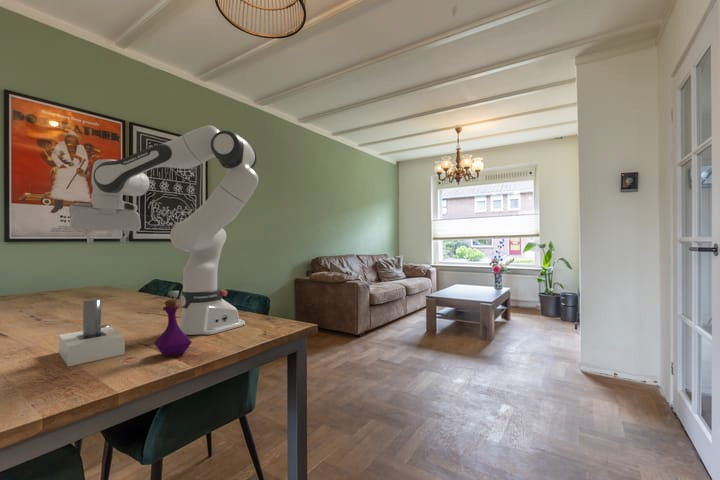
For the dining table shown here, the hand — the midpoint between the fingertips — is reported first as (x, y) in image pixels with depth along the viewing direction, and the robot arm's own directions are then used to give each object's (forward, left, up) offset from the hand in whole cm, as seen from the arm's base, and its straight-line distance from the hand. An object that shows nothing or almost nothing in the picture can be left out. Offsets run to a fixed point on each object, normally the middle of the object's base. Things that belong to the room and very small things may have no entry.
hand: (107, 243), depth 118 cm
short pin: (+4, +15, -31) cm, 35 cm away
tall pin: (+9, +28, -31) cm, 43 cm away
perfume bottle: (-6, +46, -31) cm, 56 cm away
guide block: (+9, +28, -31) cm, 43 cm away
